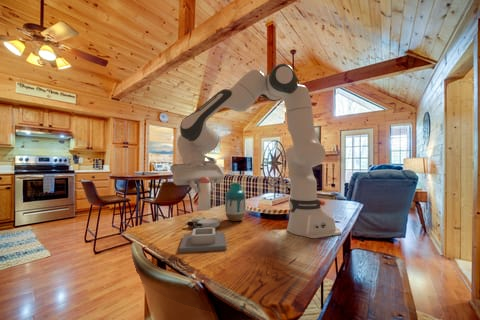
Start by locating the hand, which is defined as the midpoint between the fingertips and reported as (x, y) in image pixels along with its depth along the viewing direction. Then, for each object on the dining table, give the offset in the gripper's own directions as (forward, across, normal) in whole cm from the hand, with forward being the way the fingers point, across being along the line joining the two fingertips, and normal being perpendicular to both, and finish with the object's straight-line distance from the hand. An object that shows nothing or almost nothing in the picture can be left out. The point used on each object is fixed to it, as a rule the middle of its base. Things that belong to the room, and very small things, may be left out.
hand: (205, 191), depth 78 cm
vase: (+1, +26, +27) cm, 38 cm away
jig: (+13, 0, +15) cm, 20 cm away
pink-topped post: (+4, 0, +5) cm, 7 cm away
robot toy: (+2, +8, +27) cm, 28 cm away
